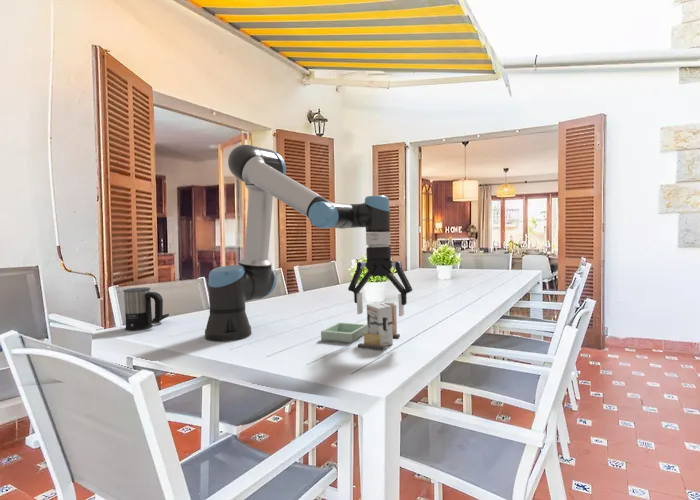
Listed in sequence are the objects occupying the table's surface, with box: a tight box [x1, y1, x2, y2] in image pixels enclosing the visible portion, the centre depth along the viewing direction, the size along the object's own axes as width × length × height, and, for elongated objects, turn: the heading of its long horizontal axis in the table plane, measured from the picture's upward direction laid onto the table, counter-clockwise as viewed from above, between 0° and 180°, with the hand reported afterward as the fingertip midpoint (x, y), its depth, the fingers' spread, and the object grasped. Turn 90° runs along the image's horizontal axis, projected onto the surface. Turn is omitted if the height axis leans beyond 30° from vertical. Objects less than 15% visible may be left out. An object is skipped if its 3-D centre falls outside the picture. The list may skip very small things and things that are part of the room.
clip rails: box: [363, 325, 395, 345], centre depth 133 cm, size 5×14×4 cm, turn 156°
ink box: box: [366, 302, 394, 347], centre depth 133 cm, size 8×5×12 cm, turn 23°
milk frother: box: [122, 286, 170, 332], centre depth 162 cm, size 14×16×15 cm
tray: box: [320, 322, 367, 344], centre depth 140 cm, size 11×14×3 cm
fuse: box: [383, 301, 398, 334], centre depth 142 cm, size 4×3×11 cm, turn 66°
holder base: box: [357, 333, 401, 351], centre depth 133 cm, size 8×16×1 cm, turn 156°
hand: (380, 314), depth 132 cm, fingers open, 13 cm apart
